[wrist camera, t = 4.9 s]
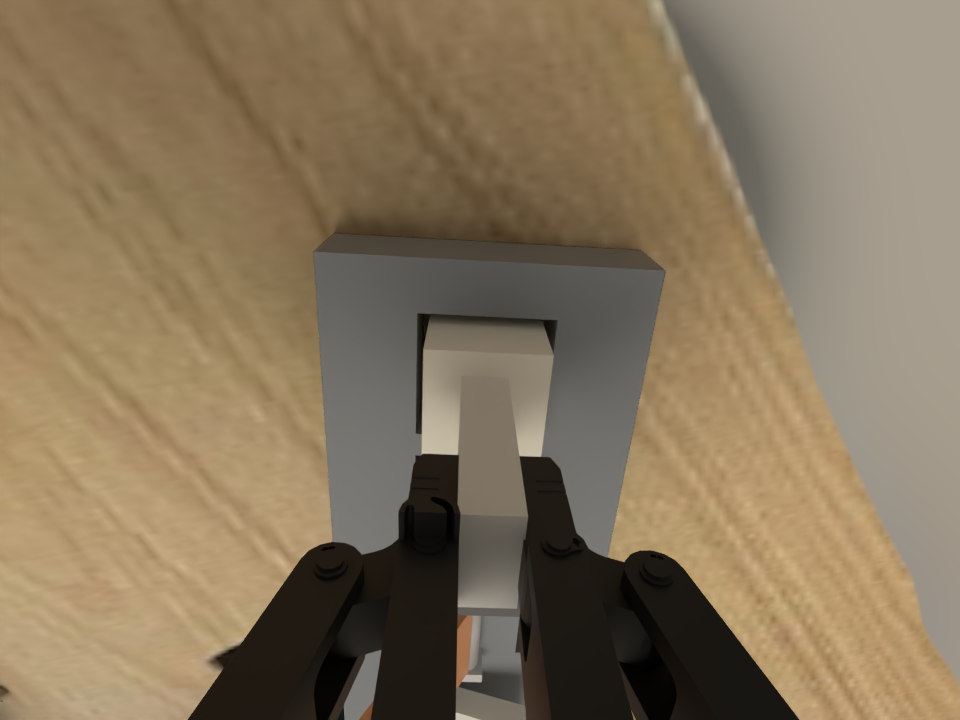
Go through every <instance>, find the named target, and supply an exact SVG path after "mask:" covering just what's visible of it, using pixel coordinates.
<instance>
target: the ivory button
mask: <svg viewBox="0 0 960 720" xmlns="http://www.w3.org/2000/svg"><path fill="white" fill-rule="evenodd" d="M553 359H554V354H553V351H552V349H551V346H550V343H549V340H548V337H547V334H546V331H545V328H544V325H543V322H542V319H523V318H503V317H483V316H463V315H443V314H430V318H429V323H428V328H427V333H426V338H425V343H424V348H423V397H422V454H447V455H458V436H459V416H460V396H461V376H478V377H501V378H508V380H509V387H510V394H511V401H512V408H513V415H514V422H515V429H516V436H517V443H518V450H519V456H531V457H541V454H542V446H543V438H544V430H545V422H546V414H547V406H548V399H549V391H550V383H551V375H552V367H553ZM422 454H421V455H422Z"/></svg>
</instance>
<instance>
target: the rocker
mask: <svg viewBox="0 0 960 720" xmlns="http://www.w3.org/2000/svg"><path fill="white" fill-rule="evenodd" d="M525 712H526V711H525V706H524V705H520V704H517V703H513V702H510V701H506V700H502V699H499V698H495V697H492V696H488V695H485V694H481V693H478V692H474V691H471V690H467V689H463V688H460V687H458V688H457V690H456V720H524V719H525Z"/></svg>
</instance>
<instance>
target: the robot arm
mask: <svg viewBox="0 0 960 720" xmlns="http://www.w3.org/2000/svg"><path fill="white" fill-rule="evenodd" d="M563 482H564V481H563V477H562V473H561V469H560V468H559V467H558V466H557V464H556V463H555V462H554V461H553V460H552V459H551V458H550V457H531V456H519V450H518V443H517V436H516V429H515V422H514V415H513V408H512V401H511V394H510V387H509V380H508V378H501V377H478V376H461V396H460V416H459V436H458V455H447V454H422V455H421V456H420V457H419V459H418V460H417V461H416V462H415V463H414V464H413V471H412V478H411V484H410V490H409V497H408V499H407V500H406V501H405V502H404V503H403V504H402V505H401V507H400V509H399V511H398V526H399V538H398V539H397V540H396V541H395V542H394V543H393V544H391V545H390V546H388V547H386V548H384V549H382V550H378V551H375V552H371V553H367V554H362V555H361V553H360V552H359V551H358V550H357V549H356V548H355V547H354V546H352V545H349V544H347V543H340V542H331V543H326V544H321V545H319V546H317V547H315V548H313V549H311V550H309V551H308V552H307V553H306V554H305V555H304V556H303V557H302V558H301V559H300V561H299V562H298V564H297V565H296V567H295V568H294V569H293V571H292V572H291V574H290V575H289V577H288V578H287V579H286V581H285V582H284V584H283V585H282V586H281V588H280V589H279V591H278V592H277V594H276V595H275V596H274V598H273V599H272V601H271V602H270V604H269V605H268V606H267V608H266V609H265V611H264V612H263V613H262V615H261V616H260V618H259V619H258V621H257V622H256V623H255V625H254V626H253V628H252V629H251V631H250V632H249V633H248V635H247V636H246V638H245V639H244V641H243V642H242V643H241V645H240V646H239V648H238V649H237V650H236V652H235V653H234V655H233V656H232V658H231V659H230V660H229V662H228V663H227V665H226V666H225V668H224V669H223V670H222V672H221V673H220V675H219V676H218V677H217V679H216V680H215V682H214V683H213V685H212V686H211V687H210V689H209V690H208V692H207V693H206V695H205V696H204V697H203V699H202V700H201V702H200V703H199V704H198V706H197V707H196V709H195V710H194V712H193V713H192V714H191V716H190V717H189V719H188V720H337V719H338V716H339V714H340V712H341V710H342V708H343V705H344V703H345V701H346V699H347V697H348V695H349V692H350V690H351V688H352V686H353V684H354V681H355V679H356V677H357V675H358V673H359V671H360V668H361V666H362V664H363V662H364V660H365V655H366V654H368V653H372V652H375V651H379V650H381V657H380V663H379V669H378V676H377V682H376V688H375V695H374V701H373V708H372V714H371V720H456V674H457V621H458V607H471V608H508V609H517V605H518V596H519V606H520V618H519V626H518V634H517V642H516V650H515V653H520V656H521V667H522V678H523V689H524V700H525V711H526V720H633V716H632V712H633V714H634V716H635V718H636V720H799V719H798V717H797V716H796V715H795V713H794V712H793V711H792V710H791V708H790V707H789V706H788V704H787V703H786V702H785V700H784V699H783V698H782V697H781V695H780V694H779V693H778V691H777V690H776V689H775V687H774V686H773V685H772V683H771V682H770V681H769V680H768V678H767V677H766V676H765V674H764V673H763V672H762V670H761V669H760V668H759V666H758V665H757V664H756V663H755V661H754V660H753V659H752V657H751V656H750V655H749V653H748V652H747V651H746V650H745V648H744V647H743V646H742V644H741V643H740V642H739V640H738V639H737V638H736V636H735V635H734V634H733V633H732V631H731V630H730V629H729V627H728V626H727V625H726V623H725V622H724V621H723V619H722V618H721V617H720V616H719V614H718V613H717V612H716V610H715V609H714V608H713V606H712V605H711V604H710V602H709V601H708V600H707V599H706V597H705V596H704V595H703V593H702V592H701V591H700V589H699V588H698V587H697V586H696V584H695V583H694V582H693V580H692V579H691V578H690V576H689V575H688V574H687V572H686V571H685V570H684V569H683V568H682V567H681V566H680V565H679V564H678V563H677V562H676V561H675V560H674V559H672V558H670V557H668V556H666V555H665V554H662V553H658V552H655V551H638V552H635V553H632V554H631V555H630V556H629V557H628V558H627V559H626V560H625V562H621V561H618V560H614V559H610V558H607V557H604V556H602V555H599V554H597V553H595V552H593V551H592V550H590V549H589V548H588V546H587V545H586V543H585V541H584V539H583V538H582V537H581V536H580V535H578V534H577V533H576V529H575V525H574V521H573V517H572V513H571V509H570V505H569V501H568V497H567V494H566V489H565V485H564V484H563ZM631 710H632V712H631Z"/></svg>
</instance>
